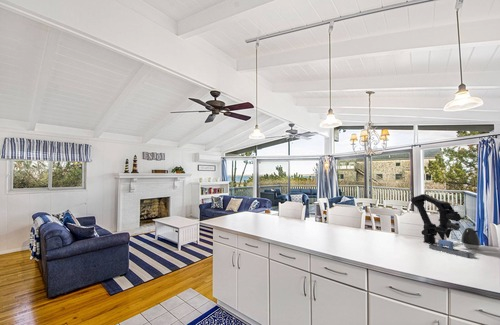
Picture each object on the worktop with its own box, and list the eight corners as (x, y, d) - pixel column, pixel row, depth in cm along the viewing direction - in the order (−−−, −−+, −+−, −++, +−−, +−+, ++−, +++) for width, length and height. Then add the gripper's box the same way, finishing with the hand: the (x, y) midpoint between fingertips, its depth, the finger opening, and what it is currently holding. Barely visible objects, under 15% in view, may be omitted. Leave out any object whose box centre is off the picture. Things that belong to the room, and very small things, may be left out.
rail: (428, 248, 166) (428, 245, 166) (431, 247, 169) (431, 243, 169) (471, 258, 145) (471, 255, 146) (474, 257, 148) (474, 253, 149)
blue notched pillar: (438, 247, 168) (438, 239, 169) (440, 246, 170) (439, 239, 170) (452, 250, 161) (451, 242, 162) (453, 249, 163) (453, 241, 163)
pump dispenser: (475, 250, 161) (473, 230, 162) (458, 246, 171) (457, 226, 172) (484, 249, 164) (483, 229, 165) (467, 245, 174) (466, 225, 175)
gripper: (453, 221, 155) (454, 243, 155) (463, 219, 165) (464, 239, 164) (434, 219, 165) (435, 239, 164) (444, 216, 174) (445, 236, 174)
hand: (445, 239), depth 166 cm, fingers open, 9 cm apart
